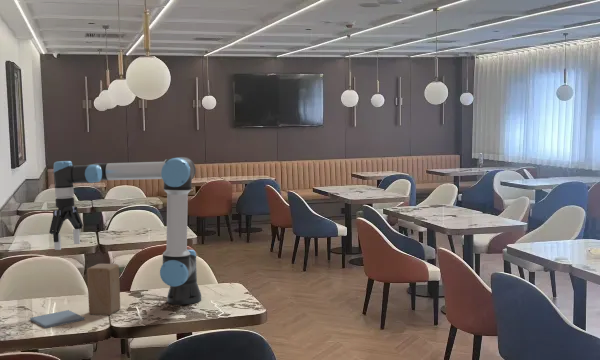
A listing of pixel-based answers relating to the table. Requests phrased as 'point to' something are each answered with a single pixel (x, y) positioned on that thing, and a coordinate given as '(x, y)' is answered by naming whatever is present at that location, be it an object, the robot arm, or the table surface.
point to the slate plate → (57, 318)
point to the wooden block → (103, 289)
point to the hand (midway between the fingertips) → (67, 246)
